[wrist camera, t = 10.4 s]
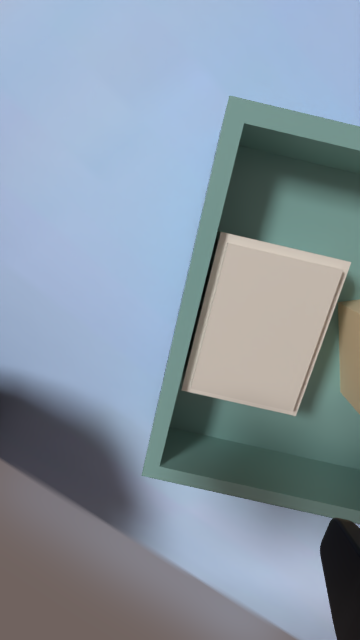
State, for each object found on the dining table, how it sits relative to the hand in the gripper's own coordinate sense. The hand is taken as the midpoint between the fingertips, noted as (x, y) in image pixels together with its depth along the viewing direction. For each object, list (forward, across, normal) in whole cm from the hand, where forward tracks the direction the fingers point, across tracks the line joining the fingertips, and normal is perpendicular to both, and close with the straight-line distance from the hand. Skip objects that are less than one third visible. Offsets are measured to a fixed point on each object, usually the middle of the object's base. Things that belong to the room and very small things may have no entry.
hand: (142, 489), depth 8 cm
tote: (+13, -8, -2) cm, 15 cm away
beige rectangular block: (+12, -4, -2) cm, 13 cm away
